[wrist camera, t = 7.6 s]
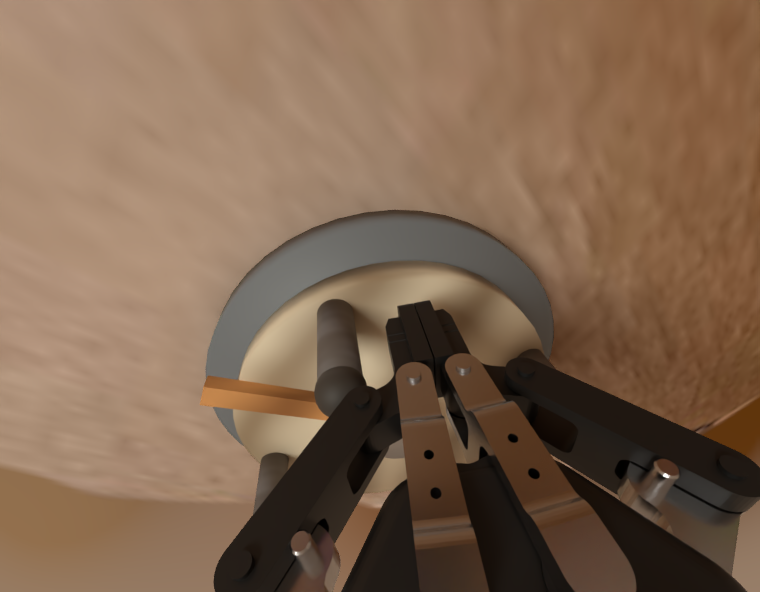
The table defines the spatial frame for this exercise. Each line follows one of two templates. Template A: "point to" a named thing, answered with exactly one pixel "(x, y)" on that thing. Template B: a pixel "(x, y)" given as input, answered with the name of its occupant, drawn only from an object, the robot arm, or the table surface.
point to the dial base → (359, 248)
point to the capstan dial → (354, 357)
